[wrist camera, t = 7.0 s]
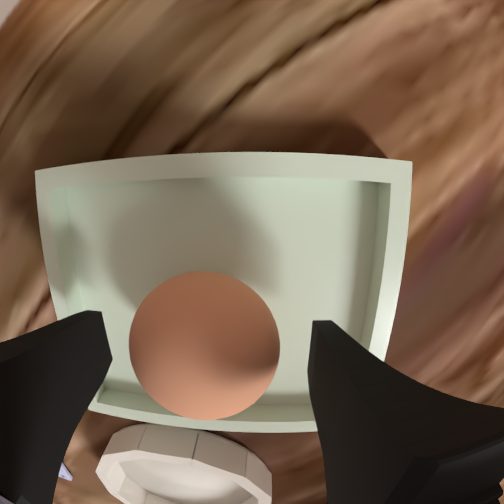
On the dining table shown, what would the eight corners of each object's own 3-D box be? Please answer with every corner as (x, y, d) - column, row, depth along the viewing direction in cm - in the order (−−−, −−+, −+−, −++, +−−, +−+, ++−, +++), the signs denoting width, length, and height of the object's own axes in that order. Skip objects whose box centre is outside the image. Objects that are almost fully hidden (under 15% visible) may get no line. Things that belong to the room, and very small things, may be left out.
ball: (162, 356, 13) (122, 435, 8) (152, 249, 12) (87, 303, 7) (273, 365, 13) (274, 455, 8) (282, 255, 12) (292, 321, 7)
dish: (132, 494, 19) (125, 514, 17) (88, 408, 16) (72, 433, 13) (267, 510, 18) (267, 533, 16) (274, 430, 15) (275, 463, 13)
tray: (102, 387, 15) (88, 410, 13) (62, 167, 12) (35, 170, 10) (355, 401, 14) (363, 427, 13) (390, 161, 11) (412, 161, 9)
